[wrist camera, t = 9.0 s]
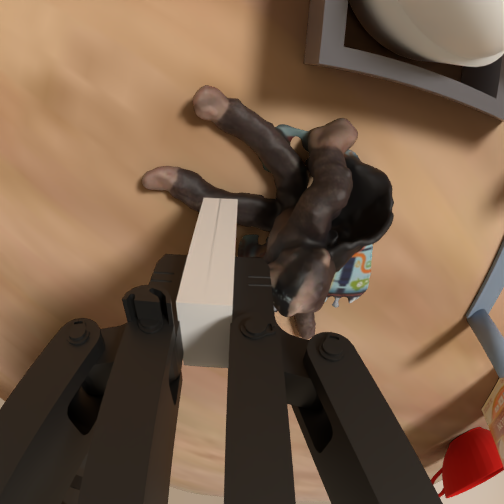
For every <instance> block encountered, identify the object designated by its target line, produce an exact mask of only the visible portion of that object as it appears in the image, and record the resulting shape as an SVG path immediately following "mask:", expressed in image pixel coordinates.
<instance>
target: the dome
mask: <svg viewBox="0 0 504 504" xmlns="http://www.w3.org/2000/svg"><path fill="white" fill-rule="evenodd" d="M349 3H350V5H351V8H352V10H353V12H354V14H355V15H356V17H357V19H358V20H359V22H360V23H361V25H362V26H363V27H364V28H365V30H366V31H367V32H368V33H369V34H370V35H371V36H372V37H373V38H374V39H375V40H376V41H377V42H379V43H380V44H381V45H382V46H384V47H385V48H387V49H388V50H390V51H392V52H394V53H395V54H397V55H400V56H402V57H405V58H408V59H412V60H417V61H427V62H437V63H446V64H454V65H461V66H468V67H480V66H485V65H488V64H491V63H493V62H494V61H496V60H498V59H499V58H500V57H501V56H502V55H503V54H504V0H349Z"/></svg>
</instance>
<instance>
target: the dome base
mask: <svg viewBox="0 0 504 504" xmlns="http://www.w3.org/2000/svg"><path fill="white" fill-rule="evenodd" d="M347 7H348V0H310V6H309V17H308V27H307V37H306V47H305V56H304V64H308V65H315V66H321V67H327V68H333V69H338V70H343V71H348V72H353V73H358V74H362V75H367V76H371V77H375V78H379V79H383V80H387V81H391V82H395V83H399V84H402V85H406V86H409V87H412V88H416V89H419V90H422V91H425V92H428V93H432V94H435V95H438V96H440V97H443V98H446V99H449V100H452V101H454V102H457V103H460V104H462V105H465V106H467V107H470V108H473V109H475V110H477V111H480V112H482V113H485V114H487V115H489V116H491V117H494V118H496V119H498V120H500V121H502V122H504V54H503V55H502V56H501V57H500V58H499V59H498V60H496V61H494V62H493V63H491V64H488V65H485V66H480V67H468V66H463V69H462V76H461V83H460V82H458V81H456V80H453V79H451V78H448V77H445V76H443V75H440V74H437V73H435V72H432V71H429V70H426V69H423V68H420V67H417V66H414V65H411V64H408V63H405V62H402V61H398V60H395V59H392V58H388V57H384V56H381V55H377V54H373V53H369V52H365V51H361V50H357V49H352V48H348V47H344V38H345V28H346V18H347Z"/></svg>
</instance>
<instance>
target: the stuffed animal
mask: <svg viewBox="0 0 504 504" xmlns="http://www.w3.org/2000/svg"><path fill="white" fill-rule="evenodd" d="M193 105H194V110H195V113H196V115H197V116H198V117H200V118H201V119H203V120H209V121H212V122H214V123H215V124H216V125H217V127H219V128H220V129H221V130H223V131H224V132H226V133H229V134H232V135H234V136H236V137H238V138H239V139H241V140H242V141H244V142H245V143H246V144H247V145H249V146H250V147H251V148H252V149H253V150H254V151H255V152H256V154H257V155H258V157H259V159H260V160H261V162H262V164H263V168H264V169H265V170H266V171H268V172H270V173H272V174H273V176H274V181H275V185H276V188H277V193H276V199H266V198H264V196H262V195H257V194H250V193H230V192H227V191H225V190H222V189H219V188H216V187H214V186H212V185H211V184H209V183H208V182H206V181H205V180H204V179H203V178H202V177H201V176H200V175H198V174H197V173H195V172H193V171H190V170H186V169H182V168H179V167H171V166H162V167H157V168H155V169H153V170H151V171H148V172H146V173H145V174H144V176H143V178H142V184H143V186H144V187H145V188H147V189H150V190H167V191H169V192H170V193H171V195H172V196H173V197H174V198H176V199H178V200H180V201H182V202H183V203H185V204H186V205H187V206H189V207H190V208H191V209H193V210H196V211H198V212H200V209H201V205H202V202H203V198H221V199H238V205H237V224H240V225H243V226H246V227H256V228H259V229H261V230H264V231H270V234H269V237H267V239H266V243H265V244H264V245H259V244H258V237H259V236H258V235H245V236H243V238H242V239H241V241H240V243H239V248H238V257H252V258H263V259H264V260H265V262H266V263H267V264H268V265H269V267H270V276H271V277H270V279H271V287H272V296H273V306H274V312H277V311H279V313H280V314H281V315H283V316H285V317H290V316H293V315H294V316H295V319H296V324H297V328H298V331H299V334H300V336H301V337H302V338H303V339H306V340H307V339H309V338H311V337H313V336H314V335H315V325H316V323H315V320H314V312H317V311H318V310H320V309H321V307H322V306H323V304H324V302H326V300H327V298H328V297H330V296H333V297H335V301H334V303H333V304H332V306H334V307H339V305H338V301H339V299H340V298H341V297H347V298H348V300H349V303H352V302H353V301H354V300H356V299H358V298H359V297H360V296H361V295H362V294H363V293H364V292H365V291H366V290H367V288H368V284H369V277H370V275H371V260H372V250H373V246H372V244H374V243H375V242H377V241H378V240H379V239H381V238H382V236H383V235H384V234H385V233H386V232H387V230H388V229H389V227H390V226H391V224H392V221H393V217H394V215H393V213H392V207H393V204H394V201H393V198H392V185H391V183H390V181H389V179H388V177H387V175H386V174H385V173H384V172H382V171H381V170H378V169H377V168H374V167H372V166H370V165H367V164H364V163H362V162H361V161H360V159H359V158H358V156H357V155H356V154H355V153H354V152H353V151H351V150H348V149H349V148H350V147H351V146H352V145H353V144H354V143H355V142H356V140H357V136H358V132H357V130H356V129H355V127H354V126H353V125H352V124H351V123H350V122H349V121H348V120H347V119H345V118H339V119H336V120H334V121H332V122H330V123H328V124H326V125H325V126H322V127H317V128H314V129H312V130H310V131H304V130H300V129H296V128H293V127H291V126H288V125H283V124H282V125H278V126H277V127H274V126H273V124H272V123H270V122H267V121H266V120H264V119H263V118H261V117H260V116H259V115H258V114H256V113H255V112H254V111H252V110H250V109H249V108H247V107H246V106H244V105H243V104H242V103H241V101H240V100H239V99H232V98H227V97H226V96H225V95H224V94H223V93H222V92H221V91H220V90H219V89H217V88H215V87H212V86H208V85H205V86H203V87H201V88H200V89H199V90H198V91H197V92H196V93H195V95H194V97H193ZM295 136H297V137H299V138H300V139H301V140H302V145H303V147H304V148H305V150H306V151H308V152H309V158H308V159H307V160H306V161H305V164H306V166H305V164H304V163H303V161H302V159H301V158H300V157H299V156H298V154H297V153H296V152H295V151H294V150H293V149H292V147H291V146H290V142H291V140H292V138H293V137H295ZM309 172H310V175H311V176H312V177H313V182H312V184H311V186H310V187H309V188H308V189H307V186H308V182H309Z"/></svg>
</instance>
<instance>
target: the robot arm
mask: <svg viewBox="0 0 504 504" xmlns="http://www.w3.org/2000/svg"><path fill="white" fill-rule="evenodd" d="M237 205H238V199H221V198H203V202H202V205H201V209H200V212H199V216H198V219H197V223H196V227H195V230H194V234H193V238H192V241H191V245H190V249H189V253H188V255H173V254H165V255H164V256H163V257H162V258H161V259H160V260H159V261H158V262H157V264H156V267H155V269H154V273H153V275H152V277H151V281H150V283H149V285H142V286H139V287H135V288H133V289H131V290H130V291H129V292H127V293H126V294H125V296H124V297H123V298H122V301H123V305H124V309H125V313H126V317H127V321H128V322H127V323H126V324H124V325H121V326H117V327H111V328H104V329H100V328H99V327H98V325H97V323H96V322H94V321H92V320H91V319H85V318H80V319H74V320H72V321H70V322H68V323H66V324H65V325H64V326H63V327H62V328H61V329H60V330H59V331H58V333H57V334H56V335H55V336H54V338H53V339H52V340H51V341H50V343H49V344H48V345H47V346H46V348H45V349H44V350H43V352H42V353H41V354H40V355H39V357H38V358H37V359H36V361H35V362H34V363H33V365H32V366H31V367H30V368H29V370H28V371H27V372H26V374H25V375H24V377H23V378H22V379H21V381H20V382H19V383H18V385H17V386H16V388H15V389H14V390H13V392H12V393H11V395H10V396H9V397H8V399H7V400H6V402H5V403H4V405H3V406H2V407H1V409H0V504H168V495H169V485H170V475H171V466H172V457H173V448H174V439H175V431H176V423H177V416H178V408H179V401H180V393H181V386H182V372H181V367H182V360H183V361H184V365H189V366H203V367H218V368H228V388H227V415H226V446H225V482H224V504H295V503H296V502H295V490H294V477H293V465H292V453H291V442H290V430H289V419H288V409H287V404H290V405H292V408H293V411H294V413H295V416H296V418H297V421H298V423H299V426H300V428H301V431H302V433H303V435H304V438H305V440H306V443H307V445H308V448H309V450H310V453H311V455H312V458H313V460H314V463H315V465H316V467H317V470H318V472H319V475H320V477H321V480H322V482H323V484H324V487H325V489H326V492H327V494H328V496H329V499H330V501H331V504H443V503H442V502H441V499H440V497H439V496H438V494H437V492H436V490H435V488H434V486H433V484H432V482H431V480H430V479H429V477H428V475H427V473H426V471H425V469H424V467H423V466H422V464H421V462H420V460H419V458H418V456H417V455H416V453H415V451H414V449H413V447H412V446H411V444H410V442H409V440H408V438H407V437H406V435H405V433H404V431H403V430H402V428H401V426H400V424H399V422H398V421H397V419H396V417H395V415H394V414H393V412H392V410H391V408H390V407H389V405H388V403H387V402H386V400H385V398H384V396H383V395H382V393H381V391H380V390H379V388H378V386H377V384H376V383H375V381H374V379H373V378H372V376H371V374H370V373H369V371H368V369H367V368H366V366H365V364H364V363H363V361H362V359H361V358H360V356H359V354H358V353H357V351H356V349H355V348H354V346H353V345H352V343H351V342H350V341H349V340H348V339H347V338H345V337H343V336H342V335H340V334H336V333H332V332H322V333H319V334H317V335H314V336H313V337H312V338H311V339H310V340H306V339H302V338H299V337H295V336H293V335H290V334H288V333H286V332H285V331H283V330H282V329H281V328H280V327H279V326H278V324H277V322H276V320H275V316H274V306H273V296H272V287H271V279H270V277H271V276H270V267H269V265H268V264H267V263H266V262H265V260H264V259H263V258H252V257H235V244H236V224H237Z"/></svg>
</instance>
